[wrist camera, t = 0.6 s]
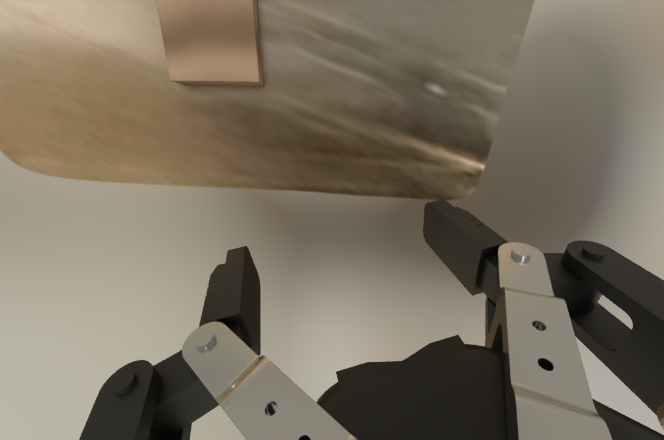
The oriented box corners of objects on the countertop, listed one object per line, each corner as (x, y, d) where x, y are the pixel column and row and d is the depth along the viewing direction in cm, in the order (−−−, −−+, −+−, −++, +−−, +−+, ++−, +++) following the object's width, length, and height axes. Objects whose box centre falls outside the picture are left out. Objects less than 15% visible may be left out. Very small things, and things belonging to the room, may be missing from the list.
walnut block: (170, -9, 29) (151, -28, 25) (257, -5, 30) (250, -23, 26) (186, 85, 32) (170, 80, 28) (264, 86, 33) (259, 81, 29)
